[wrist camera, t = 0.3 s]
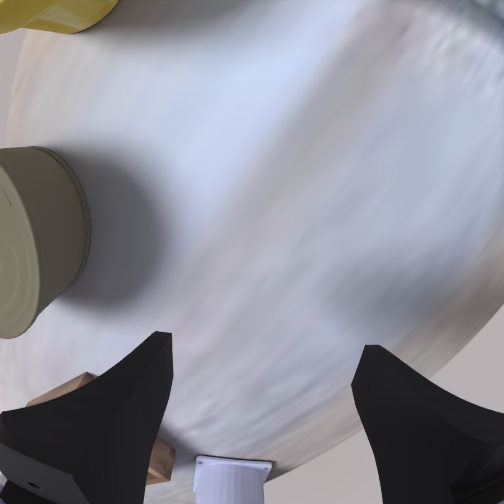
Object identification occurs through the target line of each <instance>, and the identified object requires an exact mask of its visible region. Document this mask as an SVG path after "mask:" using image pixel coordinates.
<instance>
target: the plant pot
mask: <svg viewBox="0 0 504 504" xmlns="http://www.w3.org/2000/svg"><path fill="white" fill-rule="evenodd" d="M118 1H119V0H0V34H1V33H7V32H10V31H13V30H16V29H18V28H27V29H35V30H43V31H50V32H56V33H62V34H70V33H75V32H79V31H82V30H84V29H87V28H89V27H91V26H92V25H94V24H96V23H97V22H99V21H100V20H101V19H102V18H104V17H105V16H106V15H107V14H108V13H109V12H110V11H111V10H112V9H113V8H114V7H115V5H116V4H117V3H118Z"/></svg>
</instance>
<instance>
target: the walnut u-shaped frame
mask: <svg viewBox="0 0 504 504" xmlns="http://www.w3.org/2000/svg"><path fill="white" fill-rule="evenodd" d="M92 380H94V379H93V378H92V377H91V376H90V375H89V374H88V373H87V372H85V373H83V374H81V375H80V376H78V377H76V378H74V379H72V380H70V381H68V382H66V383H64V384H63V385H61V386H59V387H57V388H55V389H53V390H51V391H49V392H47V393H45V394H43V395H41V396H40V397H38V398H36V399H34V400H32V401H30V402H28V404H27V405H26V407H29V406H33V405H36V404H39V403H43V402H46V401H49V400H51V399H54V398H57V397H60V396H62V395H64V394H66V393H68V392H71V391H73V390H75V389H77V388H79V387H81V386H83V385H85V384H87V383H89V382H90V381H92ZM175 452H176V451H175V450H173V449H172V448H171V447H169V446H168V445H167V444H165V443H164V442H163V441H162V440H160V439H159V438H158V437H157V436H156V439H155V442H154V446H153V449H152V453H151V458H150V463H149V469H148V474H147V481H146V485H149V484H156V483H162V482H167V481H170V479H171V474H172V468H173V463H174V457H175Z"/></svg>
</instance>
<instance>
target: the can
mask: <svg viewBox="0 0 504 504" xmlns="http://www.w3.org/2000/svg"><path fill="white" fill-rule="evenodd" d="M90 241H91V221H90V214H89V208H88V204H87V200H86V197H85V194H84V191H83V189H82V187H81V184H80V182H79V180H78V179H77V177H76V175H75V174H74V172H73V171H72V169H71V168H70V167H69V165H68V164H67V163H66V162H65V161H64V160H63V159H62V158H60V157H59V156H58V155H56V154H55V153H54V152H52V151H50V150H47V149H45V148H41V147H34V146H29V147H16V148H3V149H0V338H2V339H11V338H15V337H18V336H20V335H22V334H23V333H25V332H26V331H27V330H28V329H29V328H30V327H31V325H32V324H33V323H34V322H35V320H36V318H37V316H38V315H39V314H40V313H41V312H42V311H43V310H44V309H45V308H46V307H47V306H48V305H49V304H50V303H51V302H52V301H53V300H54V299H55V298H56V297H58V296H59V295H60V294H61V293H62V292H63V291H64V290H65V289H66V288H68V287H69V286H70V285H71V284H72V283H73V282H74V281H75V280H76V279H77V278H78V276H79V275H80V273H81V271H82V270H83V268H84V265H85V263H86V260H87V257H88V254H89V249H90Z"/></svg>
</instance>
